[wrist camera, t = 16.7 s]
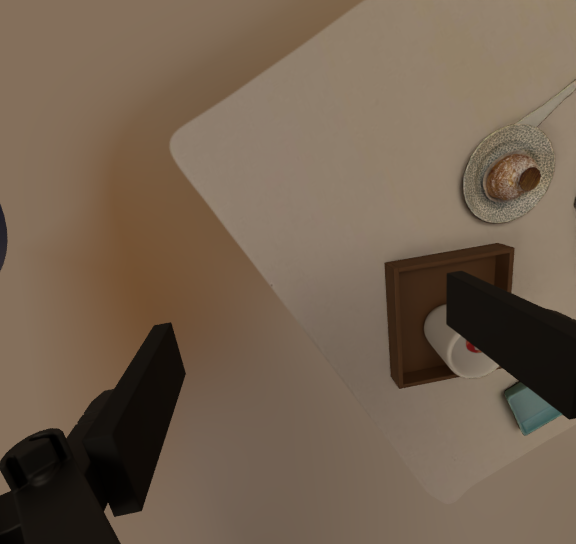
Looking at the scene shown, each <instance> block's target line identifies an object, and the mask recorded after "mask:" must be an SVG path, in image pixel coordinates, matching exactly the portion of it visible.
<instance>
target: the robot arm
mask: <svg viewBox="0 0 576 544" xmlns="http://www.w3.org/2000/svg"><path fill="white" fill-rule="evenodd" d="M446 325H448V326H449V327H450V328H452V329H453V330H454V331H455V332H457V333H458V334H459V335H461V336H462V337H463V338H464V339H466V340H467V341H468V342H470V343H471V344H472V345H473V346H475V347H476V348H477V349H479V350H480V351H481V352H483V353H484V354H485V355H486V356H488V357H489V358H490V359H492V360H493V361H494V362H495V363H497V364H498V365H499V366H501V367H502V368H503V369H505V370H506V371H507V372H508V373H510V374H511V375H512V376H514V377H515V378H516V379H517V380H519V381H520V382H521V383H523V384H524V385H525V386H526V387H528V388H529V389H530V390H532V391H533V392H534V393H536V394H537V395H538V396H539V397H541V398H542V399H543V400H545V401H546V402H547V403H548V404H550V405H551V406H552V407H554V408H555V409H556V410H558V411H559V412H560V413H561V414H563V415H564V416H565V417H567V418H568V419H574V418H576V320H575V319H571V318H570V317H568V316H566V315H564V314H561V313H559V312H557V311H553V310H549V309H545V308H542V307H540V306H538V305H536V304H533V303H531V302H529V301H527V300H525V299H523V298H520V297H518V296H516V295H514V294H512V293H510V292H507V291H505V290H503V289H501V288H499V287H497V286H494V285H492V284H490V283H488V282H486V281H484V280H481V279H479V278H477V277H475V276H473V275H471V274H468V273H466V272H464V271H462V270H461V271H456V272H450V273H447V284H446ZM185 374H186V373H185V369H184V366H183V362H182V359H181V355H180V352H179V348H178V345H177V341H176V338H175V334H174V331H173V328H172V324H171V323H165V324H160V325H155V326H153V328H152V330H151V331H150V333H149V334H148V336H147V338H146V339H145V341H144V343H143V344H142V346H141V347H140V349H139V350H138V352H137V353H136V355H135V357H134V358H133V360H132V362H131V363H130V365H129V366H128V368H127V370H126V371H125V373H124V374H123V376H122V377H121V379H120V380H119V382H118V384H117V385H116V387H115V388H114V389H112V390H107V391H104V392H103V393H101V394H100V395H99V396H98V397H97V398H96V399H94V400H93V401H92V402H91V404H90V405H89V406H88V408H87V409H86V411H85V412H84V415H82V417H81V418H80V419H79V421H78V424H77V425H75V427H74V428H73V430H72V431H71V432H70V434H69V435H68V437H67V438H66V437H65V435H64V433H63V431H61V430H60V429H53V428H52V429H51V428H50V429H46V430H43V431H39V432H37V433H35V434H33V435H30V436H28V437H27V438H25V439H23V440H22V441H20V442H19V443H17V444H16V445H15V446H14V447H12V448H11V449H10V450H9V451H8V452H7V453H6V454H5V456H4V457H3V458H2V459H1V461H0V471H1V473H2V474H3V476H4V478H5V480H6V482H7V483H8V485H9V487H10V489H11V491H10V492H7V493H5V494H3V495H0V544H121V543H120V542H119V540H118V538H117V536H116V534H115V532H114V530H113V528H112V527H111V525H110V523H109V521H108V519H107V518H106V515H105V513H104V510H105V508H106V506H107V503H109V505H110V508H111V510H112V512H113V515H114V517H116V516H121V515H125V514H130V513H135V512H139V511H142V509H143V505H144V502H145V499H146V496H147V493H148V490H149V487H150V484H151V480H152V477H153V474H154V471H155V468H156V465H157V461H158V459H159V455H160V452H161V449H162V446H163V443H164V440H165V437H166V434H167V431H168V427H169V424H170V421H171V418H172V415H173V412H174V409H175V406H176V402H177V399H178V396H179V393H180V390H181V387H182V384H183V381H184V377H185Z"/></svg>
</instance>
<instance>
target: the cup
mask: <svg viewBox="0 0 576 544" xmlns="http://www.w3.org/2000/svg"><path fill="white" fill-rule="evenodd" d="M424 333H425V336H426V338H427V340H428V341H429V343H430V344H431V345H432V347H433V348H434V349H435V350H436V352H437V353H438V354H439V355H440V357H441V358H442V359H443V360H444V362H445V363H446V364H447V365H448V367H449V368H450V369H451V370H452V371H453V372H454V373H455V374H457V375H458V376H460V377H463V378H469V379H473V378H480V377H483V376H486V375H488V374H490V373H491V372H493V371H494V370H495V369H497V368H498V367H499V365H498V364H497V363H495V362H494V361H493V360H492V359H490V358H489V357H488V356H486V355H485V354H484V353H483V352H481V351H480V350H479V349H477V348H476V347H475V346H473V345H472V344H471V343H470V342H468V341H467V340H466V339H464V338H463V337H462V336H461V335H459V334H458V333H457V332H455V331H454V330H453V329H452V328H450V327H449V326H448V325H446V304H445V305H441V306H439V307H437V308H435V309H434V310H432V311H431V312H430V313H429V315H428V316H427V318H426V320H425V323H424Z"/></svg>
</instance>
